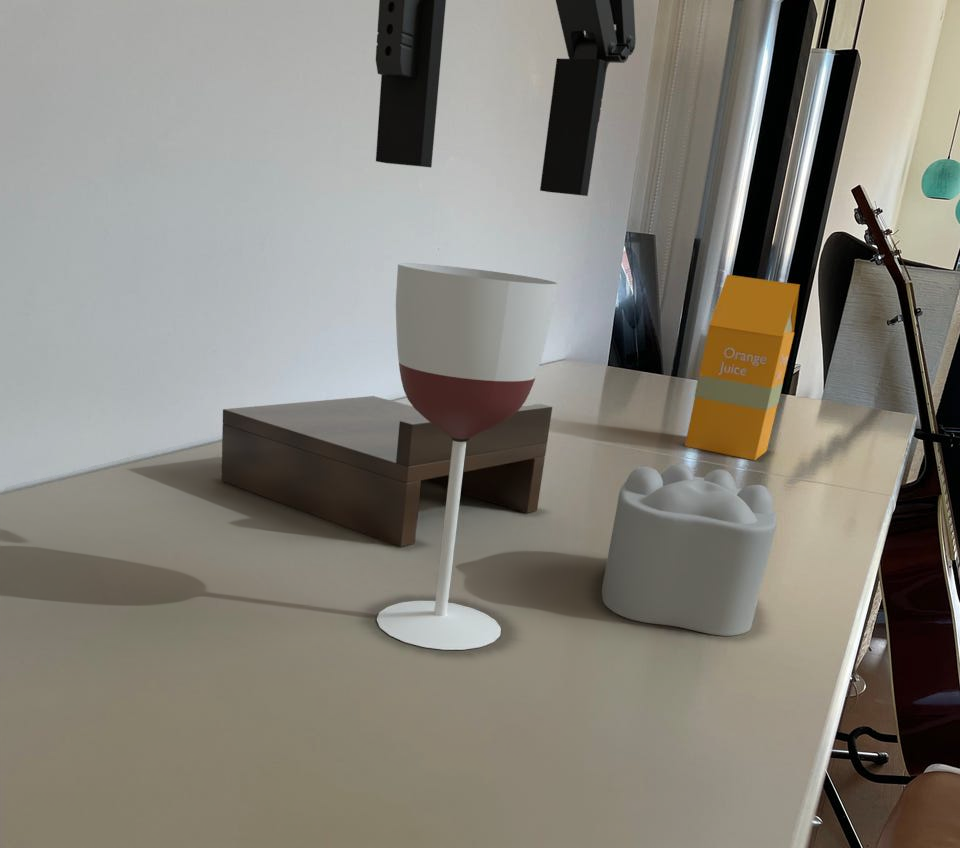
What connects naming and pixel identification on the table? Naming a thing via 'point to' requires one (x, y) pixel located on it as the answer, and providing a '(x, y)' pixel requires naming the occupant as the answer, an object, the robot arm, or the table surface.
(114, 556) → the table surface
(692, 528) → the lumpy-topped squat cylinder
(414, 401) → the wineglass
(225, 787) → the table surface
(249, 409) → the shelf
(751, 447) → the orange juice
